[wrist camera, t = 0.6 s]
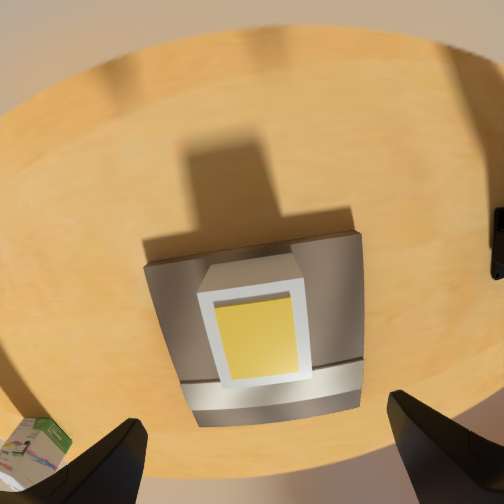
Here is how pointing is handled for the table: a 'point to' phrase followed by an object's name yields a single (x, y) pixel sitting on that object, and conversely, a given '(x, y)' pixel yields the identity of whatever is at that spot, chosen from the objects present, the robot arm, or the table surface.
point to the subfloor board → (319, 321)
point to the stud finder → (257, 321)
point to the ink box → (32, 453)
